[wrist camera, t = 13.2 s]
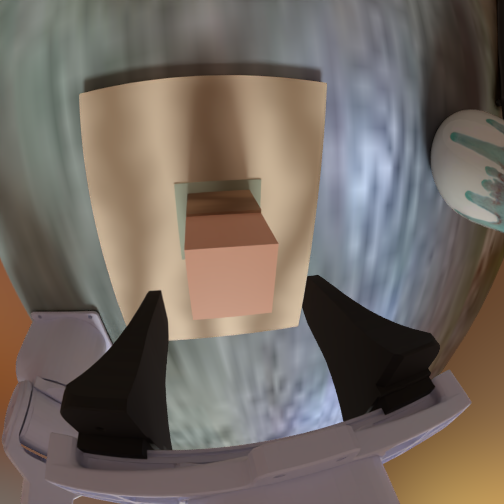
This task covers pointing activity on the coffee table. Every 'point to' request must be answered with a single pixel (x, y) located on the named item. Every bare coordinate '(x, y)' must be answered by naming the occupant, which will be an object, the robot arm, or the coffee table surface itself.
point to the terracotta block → (230, 265)
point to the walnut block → (221, 203)
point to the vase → (471, 166)
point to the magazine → (501, 50)
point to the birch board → (201, 182)
